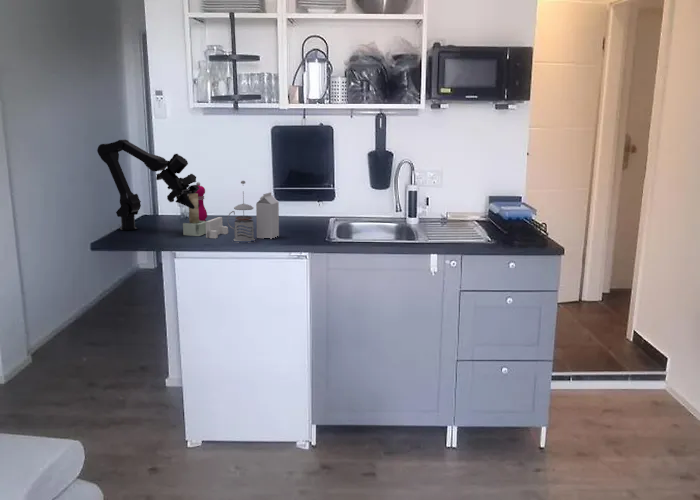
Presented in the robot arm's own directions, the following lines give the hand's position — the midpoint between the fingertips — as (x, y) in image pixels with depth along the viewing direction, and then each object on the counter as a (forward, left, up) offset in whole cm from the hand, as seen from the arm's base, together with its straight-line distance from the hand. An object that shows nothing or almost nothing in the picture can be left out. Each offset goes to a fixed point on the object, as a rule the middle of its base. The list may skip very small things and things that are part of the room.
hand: (196, 207), depth 275 cm
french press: (+21, +13, -12) cm, 27 cm away
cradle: (0, 0, -12) cm, 12 cm away
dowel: (-1, -1, -7) cm, 7 cm away
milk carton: (+20, +25, -12) cm, 34 cm away
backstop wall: (+7, +7, -12) cm, 15 cm away
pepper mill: (-22, +8, -12) cm, 26 cm away
